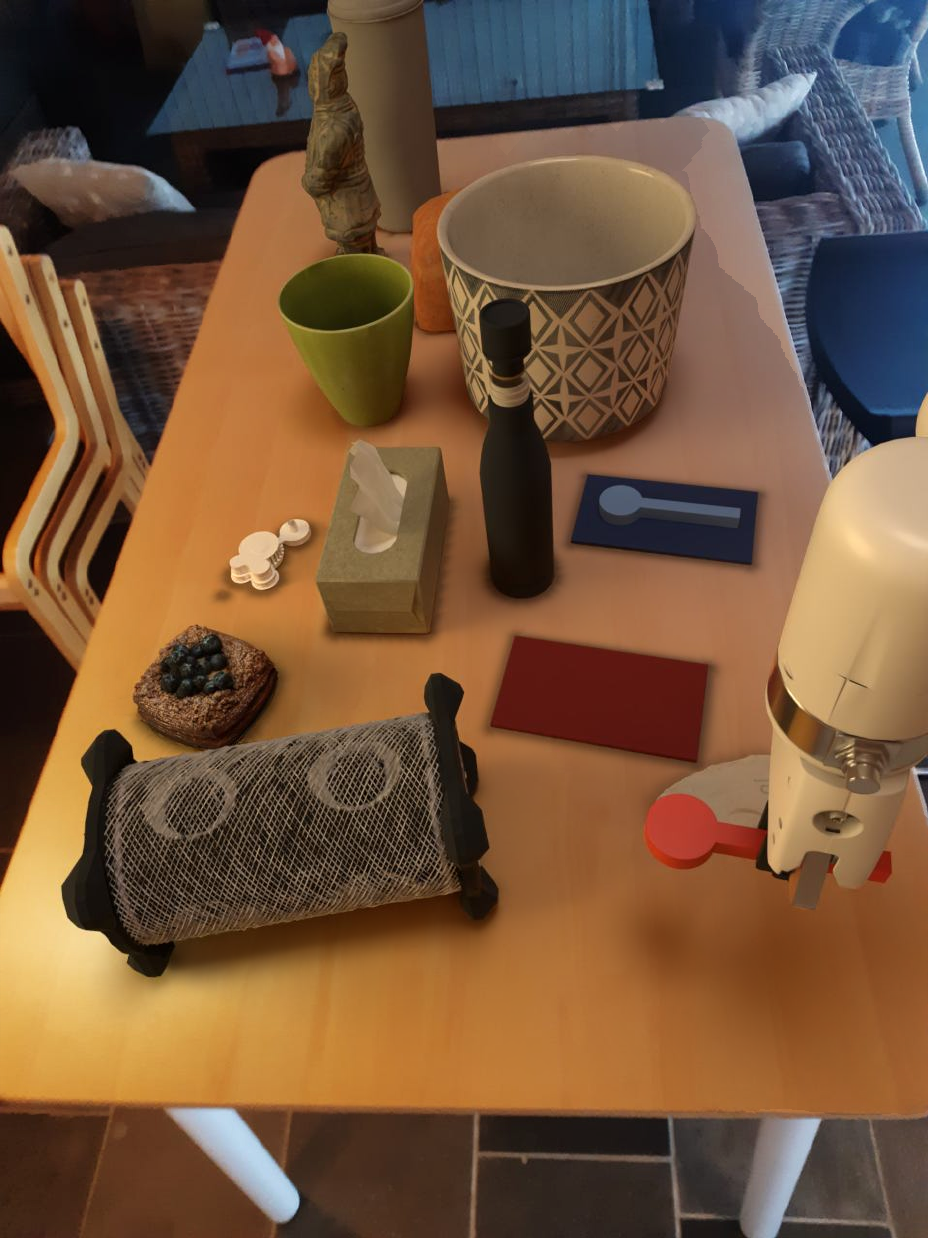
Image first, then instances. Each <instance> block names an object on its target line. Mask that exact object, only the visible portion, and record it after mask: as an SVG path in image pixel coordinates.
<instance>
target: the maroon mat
mask: <svg viewBox="0 0 928 1238" xmlns="http://www.w3.org/2000/svg"><path fill="white" fill-rule="evenodd" d="M708 671H709V664H706V663H699V662H694V661H689V660H687V661H686V660H680V659H675V658H666V657H661V656H653V655H647V654H641V653H640V654H639V653H633V652H626V651H621V650H614V649H607V648H601V647H593V646H587V645H582V644H581V645H580V644H573V643H567V642H560V641H555V640H546V639H540V638H533V637H527V636H520V635H514V638H513V640H512V645H511V648H510V651H509V656H508V659H507V662H506V665H505V670H504V673H503V677H502V680H501V685H500V688H499V692H498V695H497V698H496V702H495V706H494V709H493V712H492V716H491V720H490V723H489V725H490V727H493V728H499V729H504V730H509V731H514V732H515V731H516V732H520V733H521V732H522V733H526V734H531V735H533V734H534V735H538V736H543V737H550V738H556V739H562V740H568V741H571V742H579V743H584V744H589V745H595V746H602V747H607V748H612V749H618V750H624V751H629V752H634V753H641V754H647V755H651V756H652V755H653V756H659V757H663V758H664V757H665V758H669V759H675V760H680V761H681V760H682V761H687V762H691V763H697V762H698V756H699V747H700V738H701V731H702V722H703V721H702V720H703V711H704V704H705V696H706V695H705V694H706V687H707V679H708Z"/></svg>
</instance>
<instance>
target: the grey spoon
mask: <svg viewBox="0 0 928 1238" xmlns="http://www.w3.org/2000/svg"><path fill="white" fill-rule="evenodd" d="M740 511H741V509H740V508H732V507H723V506H714V505H704V504H695V503H686V502H677V501H668V500H658V499H649V498H642V497H641V495H640V493H639V492H638V491H637V490H636V489H634V488H632V487H629V486H624V485H618V486H613V487H610V488H608V489H606V490H605V491H604V492H603V493H602V494H601V496H600V499H599V513H600V516H601V517H602V519H603V520H604V521H606V522H607V523H609V524H612V525H617V526H624V525H629V524H631V523H633V522H635V521H636V520H637V519H638V518H639V517H640V518H648V519H657V520H666V521H675V522H683V523H692V524H701V525H710V526H719V527H727V528H736V529H737V528H738V524H739V519H740Z"/></svg>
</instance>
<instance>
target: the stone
mask: <svg viewBox="0 0 928 1238" xmlns="http://www.w3.org/2000/svg"><path fill="white" fill-rule="evenodd" d="M770 758H771V754H766V753H765V754H750V755H748V756H746V757H743V758H739V759H736V760H731V761H728V762H727V761H724V762H719V763H718V764H711V765H709V766H707V767H706V768H704V769H703V770H701V771H696V772H693V773H691V774H689V775H688V776H685V777H684V778H682V779H680V780H678V781H676V782H675V783H673V784H672V785H670V786H669V787H666V789H665V790H664V791H663V793H661V794H659V796H658V797H657V798H656V800H655V802H656V801H657V800H659V799H660V798H662V797H664V796H667V795H670V794H687V795H691V796H694V797H696V798H698V799H700V800H702V801H703V802H704V803H706V804H707V805H708V806H709V807H710V808H711V810H712V811H713V813H714V814H715V816H716V818H717V821H718V822H723V823H729V824H734V825H740V826H746V827H752V828H757V829H758V824H759V821H760V818H761V816H762V813H763V810H764V808H765V805H766V802H767V800H769V775H770Z"/></svg>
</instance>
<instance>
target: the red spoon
mask: <svg viewBox="0 0 928 1238" xmlns="http://www.w3.org/2000/svg"><path fill="white" fill-rule="evenodd" d="M656 800H657V799H656ZM656 800H655V801H654V803H652V805H651V806H650V807H649V808H648V811H647V814H646V817H645V824H644V832H643V834H644V836H643V837H644V841H645V844H646V848H647V849H648V851H649V852H650V854H651V855H652V856H653V857H654V858H655V859H656V860H657V861H658V862H660V863H661V864H662V865H664V866H666V867H668V868H671V869H675V870H684V871H685V870H693V869H696V868H699V867H701V866H702V865H704V864H705V863H707V862H708V861H709V860H710V858H711V857H712V855H713V854H717V855H719V854H720V855H725V856H730V857H735V858H741V859H747V860H753V861H756V858H757V855H758V853H759V850H760V848H761V845H762V843H763V840H764V838H765V835H766V834H768V831H766V830H762V829H757V828H752V827H746V826H740V825H734V824H729V823H723V822H718V821H717V818H716V816H715V814H714V813H713V811H712V810H711V808H710V807H709V806H708V805H707V804H706V803H704V802H703V801H702V800H700V799H698V798H696V797H694V796H691V795H687V794H670V795H667V796H664V797H662V798H660V799H659V800H657V801H656ZM892 862H893V861H892V851H890V850H885V849H884V850H883V852H882V854H881V856H880V858H879V860H878V862H877V864H876V866H875V868H874V869H873V871H872V873H871V875H870V876H869V878H868V879H867V881H868V882H874V883H878V884H886V883H887V881H888V880H889V879H890V877H891V876H892V875H893V864H892ZM835 865H836V864H832V863H830V864H829V867H828V871H827V874H830V875H834V874H833V868H834V866H835Z"/></svg>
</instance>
